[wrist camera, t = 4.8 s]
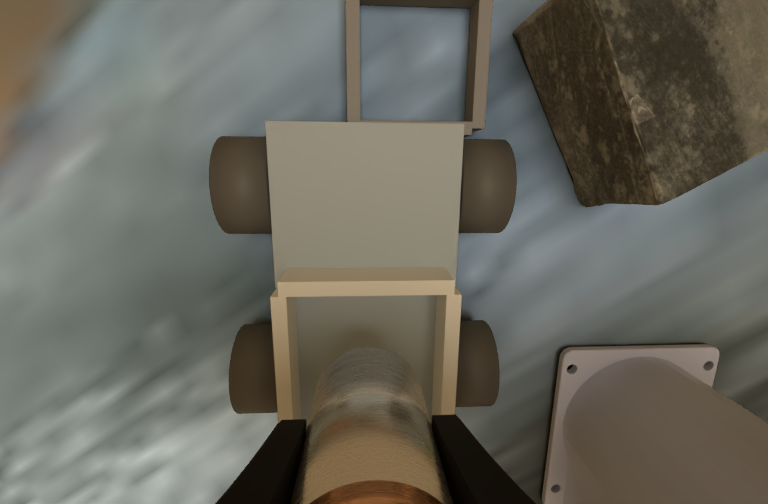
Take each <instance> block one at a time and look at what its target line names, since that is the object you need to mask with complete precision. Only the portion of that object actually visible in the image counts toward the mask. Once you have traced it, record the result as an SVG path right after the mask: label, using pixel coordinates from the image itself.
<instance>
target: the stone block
mask: <svg viewBox="0 0 768 504" xmlns="http://www.w3.org/2000/svg"><path fill="white" fill-rule="evenodd" d="M514 35H515V36H516V38H517V40H518V43H519V47H520V50H521V52H522V55H523V58H524V60H525V62H526V65H527V67H528V70H529V72H530V75H531V77H532V79H533V82H534V84H535V87H536V90H537V92H538V95H539V97H540V100H541V102H542V105H543V107H544V110H545V113H546V115H547V118H548V120H549V123H550V125H551V128H552V131H553V133H554V136H555V138H556V140H557V143H558V145H559V147H560V150H561V152H562V154H563V156H564V160H565V161H566V163H567V165H568V168H569V170H570V173H571V175H572V178H573V180H574V191H575V193H576V195H577V198H578V200H579V201H580V203H582V204H583V205H584V206H585V207H592V206H596V205H597V206H600V205H603V204H608V203H615V204H643V205H660V204H663V203H666V202H668V201H670V200H672V199H674V198H676V197H678V196H680V195H682V194H684V193H686V192H688V191H690V190H692V189H694V188H696V187H697V186H699V185H701V184H703V183H705V182H707V181H709V180H711V179H713V178H715V177H717V176H719V175H721V174H722V173H724V172H726V171H728V170H730V169H731V168H733V167H735V166H737V165H739V164H741V163H743V162H745V161H747V160H749V159H750V158H752V157H754V156H756V155H759V154H761V153H763V152H765V151H767V150H768V0H548V1H547V2H545V3H544V4H543V5H542V6H541V7H540V8H539V9H537V10H536V11H535V12H534V13H533V14H532V15H531V16H530V17H529V18H528V19H527V20H526V21H525V22H523V23H522V24H521V25H520V26H519V27H518V28H517V29H516V30H515V31H514Z"/></svg>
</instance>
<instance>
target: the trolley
mask: <svg viewBox="0 0 768 504" xmlns="http://www.w3.org/2000/svg"><path fill="white" fill-rule="evenodd" d="M360 5H385V6H415V7H446V8H471V12H470V30H469V49H468V67H467V86H466V104H465V122H457V121H388V120H360ZM492 8H493V0H346V60H347V122H301V121H265V128H266V137H233V136H221V137H219V138H218V139H217V140H216V142H215V144H214V146H213V149H212V153H211V157H210V165H209V187H210V196H211V202H212V206H213V210H214V214H215V217H216V219H217V222H218V224H219V225H220V227H221V229H222V230H223V231H224V232H226V233H228V234H272V241H273V258H274V274H275V291H274V292H273V294H272V295H271V297H270V302H271V317H272V324H245V325H243V326H242V327H241V328H240V330H239V331H238V334H237V336H236V338H235V342H234V345H233V349H232V354H231V360H230V369H229V393H230V400H231V404H232V407H233V409H234V411H235V412H236V413H238V414H242V413H275V412H278V423H279V422H280V421H281V420H293V419H306V430H307V426H308V421H309V417H310V412H311V407H312V403H313V398H314V394H315V389H316V385H317V381H318V379H319V377H320V375H321V373H322V371H323V370H324V368H325V367H326V366H327V365H328V364H329V363H330V362H331V361H332V360H333V359H334V358H336V357H337V356H339V355H340V354H342V353H344V352H346V351H349V350H351V349H355V348H360V347H379V348H383V349H387V350H390V351H392V352H394V353H396V354H398V355H400V356H401V357H402V358H404V359H405V360H406V361H407V362H408V363H409V364H410V365H411V367H412V368H413V369H414V371H415V373H416V375H417V377H418V380H419V383H420V387H421V390H422V394H423V397H424V401H425V405H426V408H427V412H428V415H429V419H430V422H431V426H432V415H454V414H455V407H472V406H492V405H493V404H494V403H495V401H496V399H497V395H498V390H499V360H498V353H497V347H496V343H495V339H494V336H493V333H492V331H491V329H490V327H489V325H488V324H487V323H486V322H485V321H483V320H474V321H460V317H461V299H462V294H461V293H460V292H459V290H458V289H457V288H456V269H457V251H458V233H499V232H501V231H503V230H504V229H505V227H506V226H507V224H508V222H509V220H510V217H511V214H512V211H513V207H514V202H515V196H516V184H517V175H516V163H515V158H514V154H513V151H512V148H511V146H510V144H509V143H508V142H507V141H506V140H488V139H464V137H466V136H470V135H472V131H478V130H481V129H485V114H486V99H487V84H488V69H489V53H490V38H491V23H492Z"/></svg>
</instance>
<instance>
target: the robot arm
mask: <svg viewBox="0 0 768 504" xmlns="http://www.w3.org/2000/svg"><path fill="white" fill-rule="evenodd" d="M718 360H719V351H718V349H716V348H715V347H713V346H711V345H708V344H691V345H645V346H598V347H569V348H566V349H564V350H563V351H562V352H561V354H560V357H559V365H558V373H557V381H556V389H555V397H554V405H553V413H552V421H551V429H550V437H549V445H548V453H547V460H546V468H545V476H544V484H543V492H542V503H543V504H768V423H767V422H765V421H764V420H762V419H761V418H759V417H757V416H756V415H754V414H753V413H751V412H750V411H748V410H747V409H745V408H743V407H742V406H740V405H739V404H737V403H736V402H734V401H732V400H731V399H729V398H728V397H726V396H725V395H723V394H722V393H720V392H718V391H717V390H715V389H714V388H712V385H713V381H714V377H715V373H716V368H717V364H718ZM705 363H706V364H705ZM572 364H573V366H572V368H571V369H569V370H567V368H568V366H569V365H572ZM704 364H705V365H704ZM432 429H433V433H434V437H435V440H436V444H437V447H438V451H439V454H440V458H441V461H442V465H443V469H444V472H445V476H446V479H447V483H448V486H449V490H450V494H451V497H452V501H453V504H536V503H535V502H534V501H533V500H532V499H531V498H530V497H529V496H528V495H527V494H526V493H525V492H524V491H523V490H522V489H521V488H520V487H519V486H518V485H517V484H516V483H515V482H514V481H513V480H512V479H511V478H510V477H509V476H508V475H507V473H506V472H505V471H504V470H503V469H502V468H501V467H500V466H499V465H498V464H497V463H496V461H495V460H494V459H493V458H492V457H491V456H490V455H489V454H488V452H487V451H486V450H485V449H484V448H483V447H482V445H481V444H480V443H479V442H478V441H477V440H476V438H475V437H474V436H473V435H472V434H471V432H470V431H469V430H468V429H467V427H466V426H465V425H464V424H463V423H462V421H461V420H460V419H459V418H458V417H457V416H456V415H455V414H454V415H432ZM305 435H306V419H293V420H281V421H280V422H279V423H278V424H277V425H276V427H275V428H274V430H273V431H272V433H271V434H270V435H269V437H268V438H267V440H266V441H265V442H264V444H263V445H262V446H261V448H260V449H259V450H258V452H257V453H256V454H255V456H254V457H253V458H252V460H251V461H250V462H249V464H248V465H247V466H246V467H245V469H244V470H243V471H242V472H241V474H240V475H239V476H238V477H237V479H236V480H235V481H234V482H233V484H232V485H231V486H230V487H229V489H228V490H227V491H226V492H225V493H224V494H223V496H222V497H221V498H220V499H219V500H218V501H217V502H216V504H291V500H292V495H293V490H294V486H295V481H296V477H297V472H298V467H299V463H300V458H301V453H302V449H303V444H304V440H305ZM553 485H555V486H553Z"/></svg>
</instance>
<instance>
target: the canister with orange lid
mask: <svg viewBox="0 0 768 504" xmlns="http://www.w3.org/2000/svg"><path fill="white" fill-rule="evenodd" d="M291 504H453V501H452V497H451V494H450V490H449V486H448V483H447V479H446V476H445V472H444V469H443V465H442V461H441V458H440V454H439V451H438V447H437V444H436V440H435V437H434V433H433V429H432V426H431V422H430V419H429V415H428V412H427V408H426V405H425V401H424V397H423V394H422V390H421V387H420V383H419V380H418V377H417V375H416V373H415V371H414V369H413V368H412V367H411V365H410V364H409V363H408V362H407V361H406V360H405V359H404V358H402V357H401V356H400V355H398V354H396V353H394V352H392V351H390V350H387V349H383V348H379V347H360V348H355V349H351V350H349V351H346V352H344V353H342V354H340V355H339V356H337V357H336V358H334V359H333V360H332V361H331V362H330V363H329V364H328V365H327V366H326V367H325V368H324V370H323V371H322V373H321V375H320V377H319V379H318V381H317V385H316V389H315V394H314V398H313V403H312V407H311V412H310V417H309V421H308V426H307V430H306V435H305V440H304V444H303V449H302V453H301V458H300V463H299V467H298V472H297V477H296V481H295V486H294V490H293V495H292V500H291Z"/></svg>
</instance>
